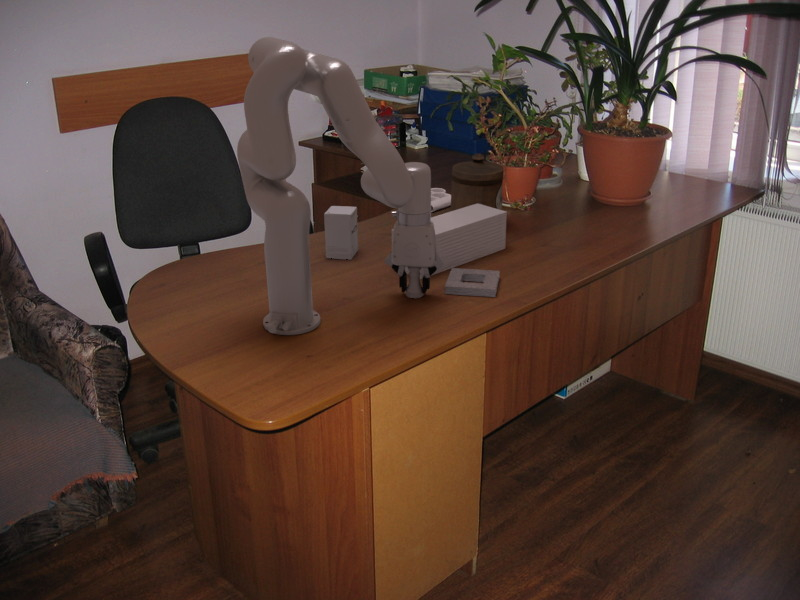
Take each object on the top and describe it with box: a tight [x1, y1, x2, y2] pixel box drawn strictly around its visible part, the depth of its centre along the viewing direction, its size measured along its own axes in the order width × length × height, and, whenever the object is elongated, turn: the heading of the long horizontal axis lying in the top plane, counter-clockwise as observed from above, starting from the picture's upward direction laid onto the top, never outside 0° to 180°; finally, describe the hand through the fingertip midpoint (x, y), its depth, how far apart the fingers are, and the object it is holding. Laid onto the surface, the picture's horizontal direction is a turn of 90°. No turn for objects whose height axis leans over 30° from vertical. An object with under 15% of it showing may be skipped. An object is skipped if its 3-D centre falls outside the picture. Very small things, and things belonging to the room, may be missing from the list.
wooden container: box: [450, 153, 504, 212], centre depth 236 cm, size 15×15×22 cm
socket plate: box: [444, 267, 501, 298], centre depth 200 cm, size 12×12×2 cm
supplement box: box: [323, 205, 359, 261], centre depth 219 cm, size 7×7×13 cm
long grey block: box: [390, 203, 508, 280], centre depth 216 cm, size 32×11×11 cm, turn 132°
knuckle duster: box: [431, 187, 451, 213], centre depth 262 cm, size 3×18×15 cm
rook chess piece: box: [404, 267, 425, 299], centre depth 194 cm, size 4×4×8 cm
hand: (414, 290), depth 195 cm, fingers closed on rook chess piece, 4 cm apart
